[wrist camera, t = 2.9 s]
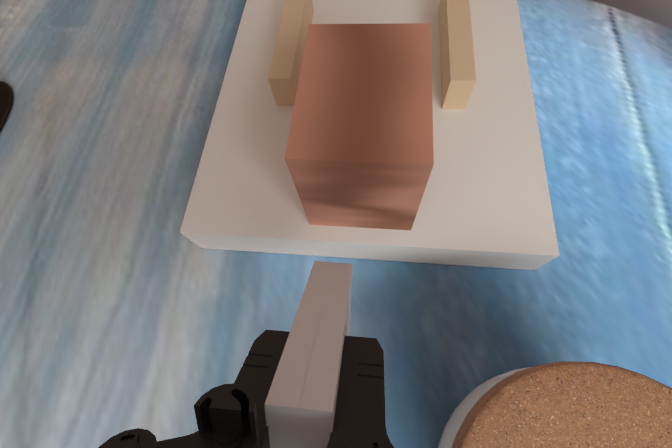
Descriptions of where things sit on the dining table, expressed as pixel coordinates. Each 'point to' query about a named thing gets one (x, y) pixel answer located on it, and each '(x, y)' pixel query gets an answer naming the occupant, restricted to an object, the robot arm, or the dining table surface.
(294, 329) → the robot arm
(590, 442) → the lidded jar
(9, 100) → the t-shaped wooden sculpture
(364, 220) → the block
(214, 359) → the dining table surface
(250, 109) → the board
